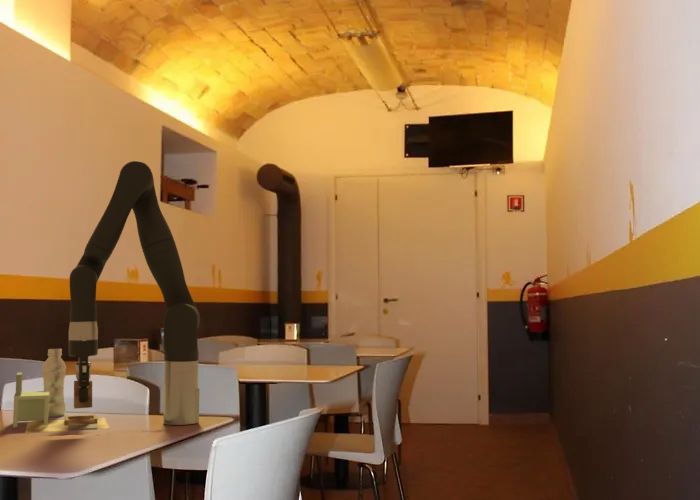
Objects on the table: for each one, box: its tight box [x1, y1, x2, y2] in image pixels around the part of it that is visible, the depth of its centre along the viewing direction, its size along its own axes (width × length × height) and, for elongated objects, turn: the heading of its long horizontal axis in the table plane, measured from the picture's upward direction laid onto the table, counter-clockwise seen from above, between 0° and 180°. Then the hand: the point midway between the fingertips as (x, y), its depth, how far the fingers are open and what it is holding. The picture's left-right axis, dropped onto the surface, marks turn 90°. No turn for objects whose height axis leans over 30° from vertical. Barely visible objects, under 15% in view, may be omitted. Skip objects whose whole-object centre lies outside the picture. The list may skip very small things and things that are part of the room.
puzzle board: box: [25, 414, 110, 438], centre depth 199 cm, size 20×20×2 cm
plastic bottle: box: [41, 348, 67, 418], centre depth 217 cm, size 6×7×20 cm
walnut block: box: [73, 379, 93, 409], centre depth 204 cm, size 4×4×7 cm
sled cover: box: [12, 371, 49, 428], centre depth 200 cm, size 8×11×13 cm
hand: (82, 401), depth 204 cm, fingers closed on walnut block, 4 cm apart
